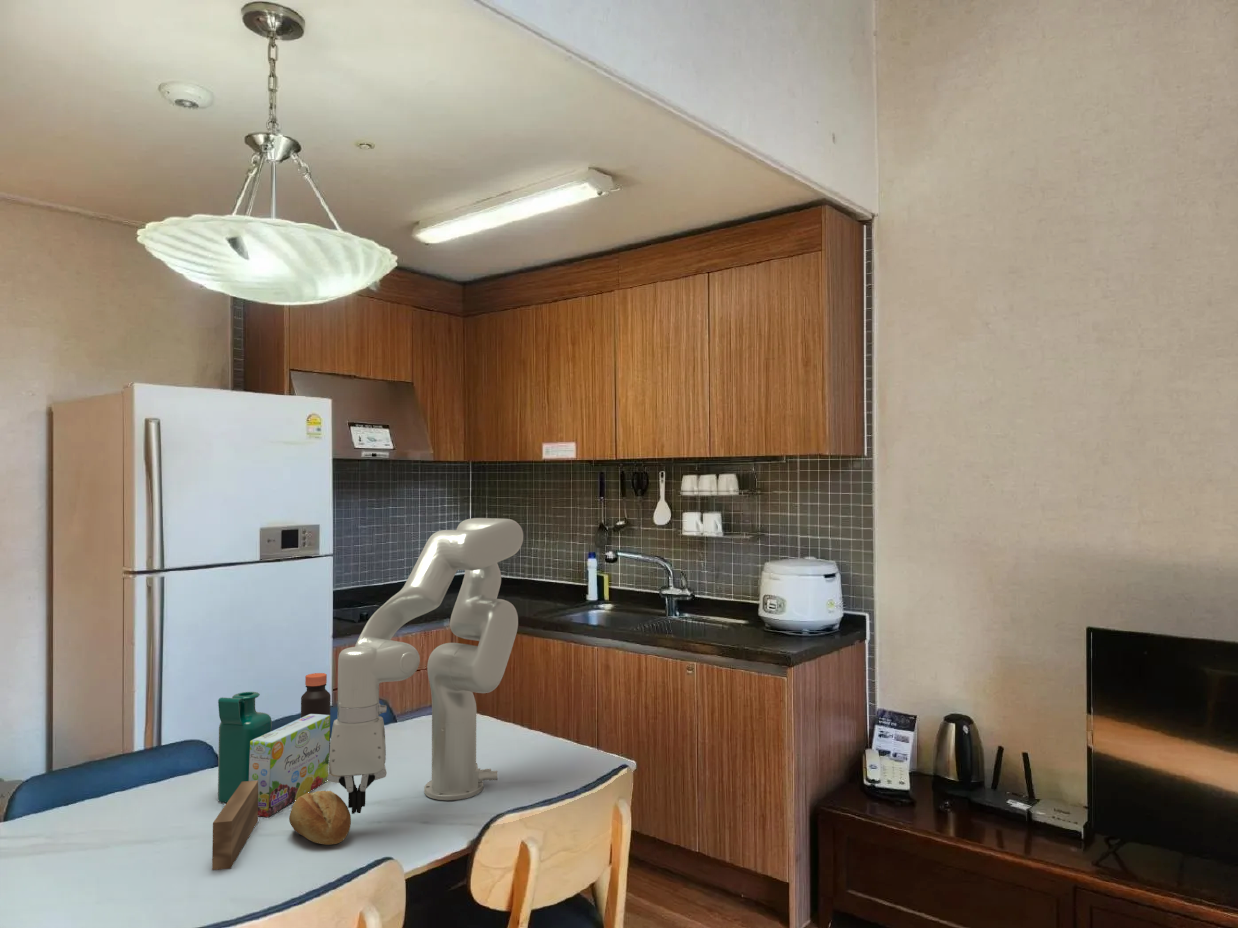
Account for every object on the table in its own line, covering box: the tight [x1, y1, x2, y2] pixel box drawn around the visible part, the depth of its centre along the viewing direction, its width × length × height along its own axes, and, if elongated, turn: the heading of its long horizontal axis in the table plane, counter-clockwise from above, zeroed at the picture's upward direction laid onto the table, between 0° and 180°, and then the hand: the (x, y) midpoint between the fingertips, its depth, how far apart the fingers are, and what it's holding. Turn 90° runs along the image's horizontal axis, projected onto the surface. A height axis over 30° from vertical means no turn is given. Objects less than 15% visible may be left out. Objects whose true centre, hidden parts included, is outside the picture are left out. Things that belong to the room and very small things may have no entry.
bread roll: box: [288, 790, 352, 846], centre depth 149 cm, size 10×15×8 cm, turn 47°
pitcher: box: [217, 691, 273, 803], centre depth 168 cm, size 10×8×22 cm
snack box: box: [249, 714, 331, 818], centre depth 168 cm, size 21×6×15 cm, turn 168°
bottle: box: [300, 672, 332, 752], centre depth 194 cm, size 7×7×20 cm
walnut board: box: [211, 780, 259, 871], centre depth 145 cm, size 3×20×8 cm, turn 13°
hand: (356, 810), depth 150 cm, fingers closed
